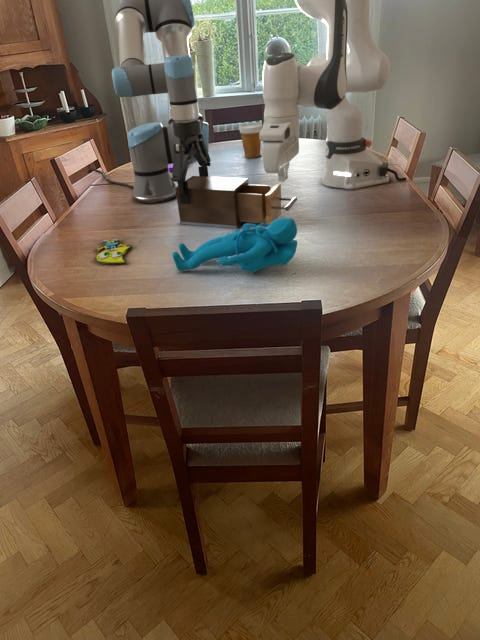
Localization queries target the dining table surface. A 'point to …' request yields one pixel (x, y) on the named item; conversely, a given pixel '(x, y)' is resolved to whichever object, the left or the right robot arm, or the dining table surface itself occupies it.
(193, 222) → the cabinet
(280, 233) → the toy
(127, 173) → the dining table surface
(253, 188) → the drawer
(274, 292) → the dining table surface
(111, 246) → the toy
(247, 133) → the glass of beer
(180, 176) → the left robot arm
